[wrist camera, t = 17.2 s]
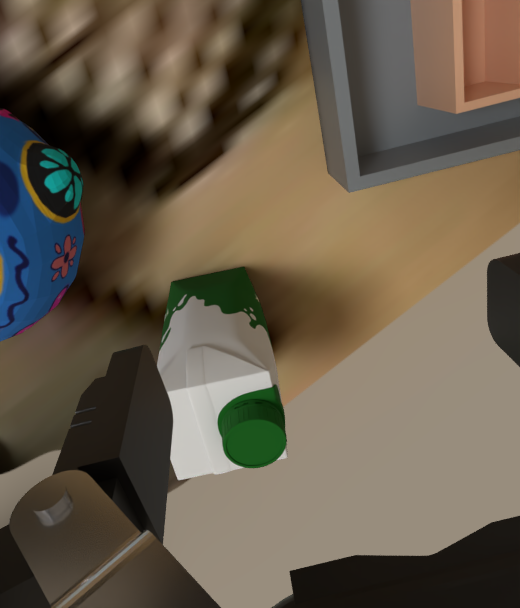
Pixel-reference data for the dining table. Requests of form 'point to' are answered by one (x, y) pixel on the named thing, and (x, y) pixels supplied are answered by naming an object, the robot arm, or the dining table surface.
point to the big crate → (388, 99)
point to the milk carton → (220, 377)
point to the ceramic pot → (35, 225)
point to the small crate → (466, 53)
